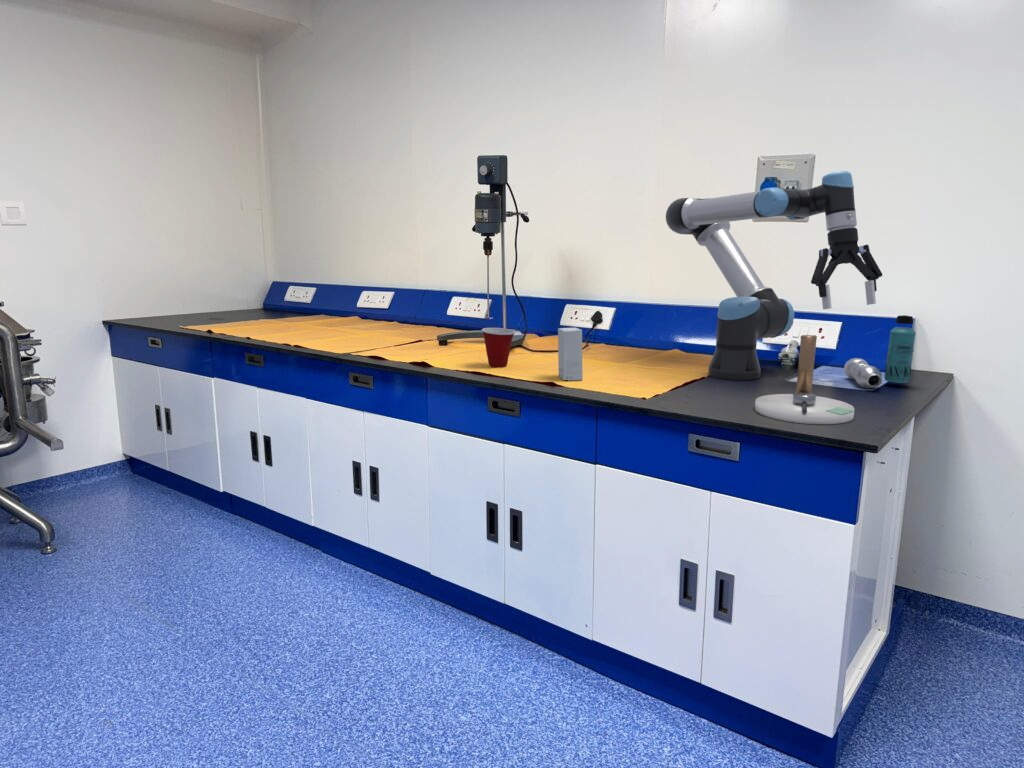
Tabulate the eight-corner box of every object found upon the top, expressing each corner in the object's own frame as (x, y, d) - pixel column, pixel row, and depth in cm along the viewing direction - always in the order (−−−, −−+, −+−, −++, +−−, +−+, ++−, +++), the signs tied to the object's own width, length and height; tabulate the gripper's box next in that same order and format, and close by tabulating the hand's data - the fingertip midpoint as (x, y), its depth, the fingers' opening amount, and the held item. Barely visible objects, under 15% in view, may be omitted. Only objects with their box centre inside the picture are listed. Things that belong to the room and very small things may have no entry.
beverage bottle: (878, 383, 201) (886, 314, 197) (900, 383, 202) (908, 314, 198) (892, 388, 195) (900, 316, 191) (914, 388, 195) (923, 316, 191)
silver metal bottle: (865, 378, 209) (887, 393, 190) (840, 377, 210) (860, 392, 191) (867, 357, 208) (889, 369, 188) (843, 356, 209) (862, 368, 190)
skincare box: (582, 380, 204) (584, 330, 201) (562, 381, 203) (563, 330, 200) (576, 375, 212) (577, 326, 209) (556, 375, 211) (557, 326, 208)
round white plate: (752, 418, 162) (753, 409, 162) (756, 398, 182) (757, 390, 182) (857, 428, 154) (858, 418, 154) (850, 406, 174) (851, 397, 174)
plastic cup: (507, 370, 219) (508, 332, 217) (476, 367, 223) (476, 330, 221) (520, 364, 229) (520, 328, 227) (489, 362, 233) (489, 326, 231)
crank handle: (816, 414, 157) (822, 348, 154) (792, 412, 159) (798, 346, 156) (814, 394, 177) (819, 335, 173) (792, 392, 178) (797, 334, 175)
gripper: (808, 230, 186) (816, 309, 187) (891, 223, 190) (899, 300, 191) (792, 235, 194) (800, 312, 194) (873, 229, 198) (880, 303, 198)
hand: (849, 306), depth 193 cm, fingers open, 13 cm apart
